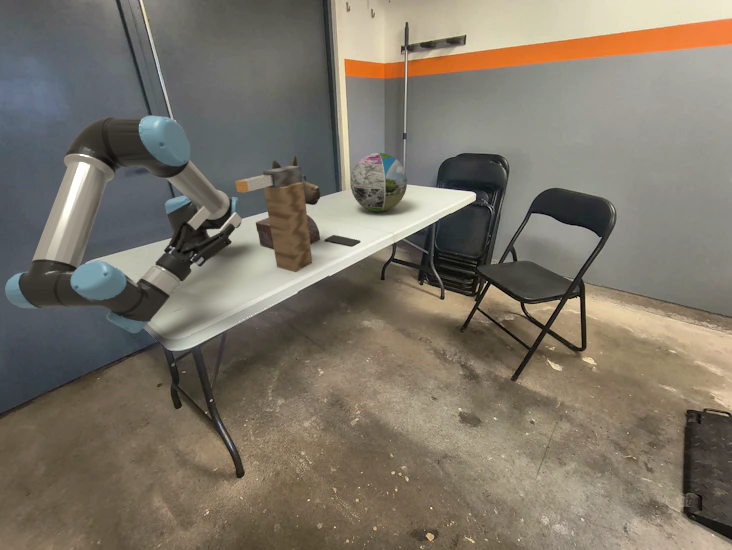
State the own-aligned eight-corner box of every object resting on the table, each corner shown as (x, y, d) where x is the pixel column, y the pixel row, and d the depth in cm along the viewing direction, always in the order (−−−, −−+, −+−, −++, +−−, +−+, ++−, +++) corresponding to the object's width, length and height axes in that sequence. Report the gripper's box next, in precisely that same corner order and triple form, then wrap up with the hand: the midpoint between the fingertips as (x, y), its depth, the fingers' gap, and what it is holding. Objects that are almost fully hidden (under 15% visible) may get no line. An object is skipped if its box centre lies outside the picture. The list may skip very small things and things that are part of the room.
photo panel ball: (397, 220, 164) (398, 157, 150) (343, 216, 174) (339, 156, 160) (412, 205, 189) (413, 150, 175) (363, 202, 199) (361, 149, 185)
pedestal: (293, 273, 114) (279, 172, 98) (275, 267, 118) (258, 170, 103) (315, 260, 123) (305, 166, 107) (297, 256, 127) (285, 165, 112)
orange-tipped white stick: (244, 192, 93) (242, 181, 91) (237, 191, 94) (235, 181, 93) (299, 178, 110) (298, 169, 109) (292, 177, 112) (291, 168, 110)
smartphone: (352, 246, 134) (323, 239, 141) (352, 248, 134) (323, 241, 141) (361, 240, 139) (333, 234, 146) (361, 242, 140) (333, 236, 147)
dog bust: (309, 258, 124) (297, 162, 109) (259, 245, 138) (242, 158, 122) (338, 243, 138) (332, 155, 122) (290, 232, 152) (279, 153, 136)
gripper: (153, 271, 90) (203, 216, 99) (209, 294, 78) (260, 228, 87) (130, 254, 84) (186, 197, 93) (186, 276, 72) (244, 208, 81)
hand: (222, 212), depth 90 cm, fingers open, 13 cm apart
